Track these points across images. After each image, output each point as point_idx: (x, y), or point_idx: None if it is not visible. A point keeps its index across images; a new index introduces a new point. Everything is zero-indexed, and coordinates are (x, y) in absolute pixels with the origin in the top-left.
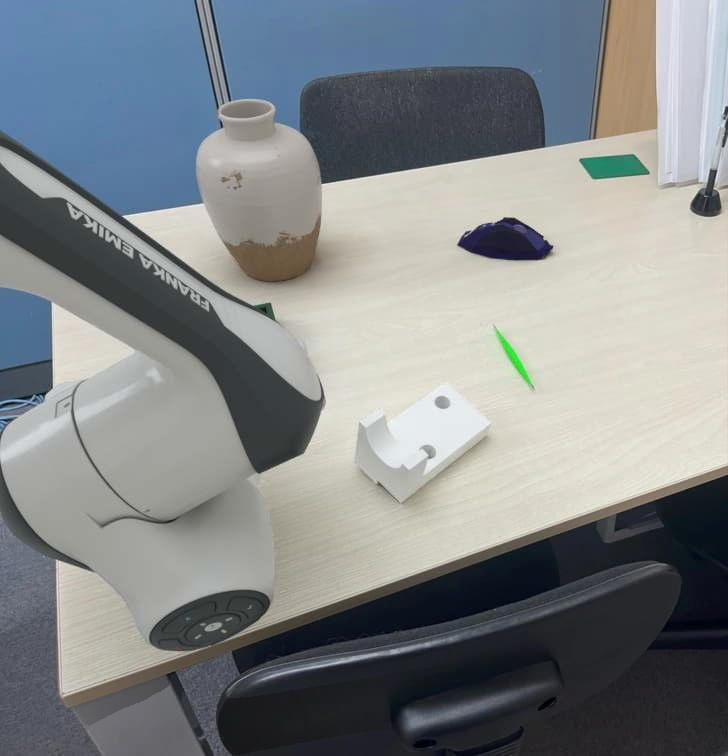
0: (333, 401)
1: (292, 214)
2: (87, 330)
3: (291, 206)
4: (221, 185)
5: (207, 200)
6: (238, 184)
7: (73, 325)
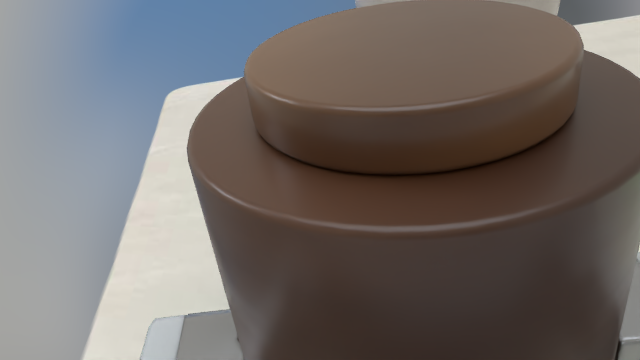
0: None
1: None
2: (163, 218)
3: (524, 3)
4: None
5: (370, 3)
6: None
7: (147, 209)
